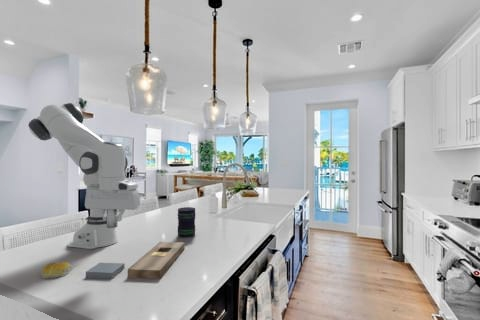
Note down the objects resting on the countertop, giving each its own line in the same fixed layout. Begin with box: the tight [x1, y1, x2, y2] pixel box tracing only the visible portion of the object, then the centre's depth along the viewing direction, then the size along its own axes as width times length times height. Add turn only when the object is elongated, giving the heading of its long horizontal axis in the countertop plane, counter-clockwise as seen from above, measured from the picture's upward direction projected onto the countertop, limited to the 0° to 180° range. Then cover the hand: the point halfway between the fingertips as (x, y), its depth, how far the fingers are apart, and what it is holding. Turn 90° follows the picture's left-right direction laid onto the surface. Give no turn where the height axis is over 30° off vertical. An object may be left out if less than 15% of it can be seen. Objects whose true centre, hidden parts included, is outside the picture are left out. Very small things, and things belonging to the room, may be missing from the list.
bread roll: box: [40, 261, 73, 279], centre depth 91 cm, size 8×9×4 cm
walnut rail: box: [127, 241, 185, 280], centre depth 103 cm, size 12×30×3 cm, turn 176°
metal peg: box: [107, 209, 119, 229], centre depth 94 cm, size 4×4×7 cm
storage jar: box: [177, 206, 196, 239], centre depth 139 cm, size 10×10×15 cm
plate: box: [85, 262, 126, 279], centre depth 92 cm, size 10×8×2 cm
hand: (112, 220), depth 94 cm, fingers closed on metal peg, 4 cm apart
